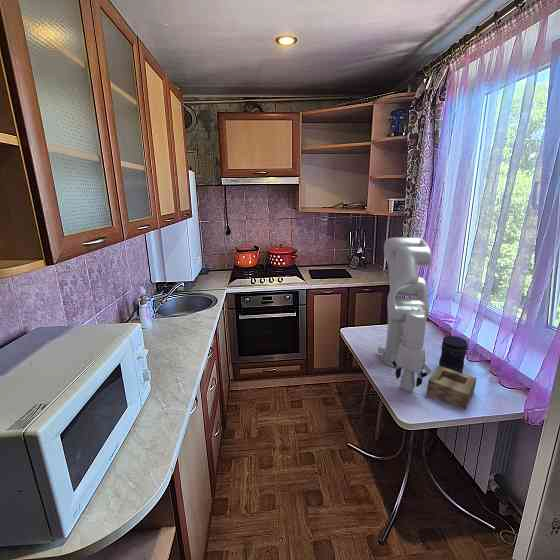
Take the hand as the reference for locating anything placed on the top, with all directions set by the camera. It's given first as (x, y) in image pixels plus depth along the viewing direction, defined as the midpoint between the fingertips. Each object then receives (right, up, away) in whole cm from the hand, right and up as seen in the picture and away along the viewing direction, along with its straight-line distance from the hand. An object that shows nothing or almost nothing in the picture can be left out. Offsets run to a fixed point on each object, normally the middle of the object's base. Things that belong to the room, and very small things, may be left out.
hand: (408, 381), depth 131 cm
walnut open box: (+16, -5, -1) cm, 17 cm away
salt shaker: (0, -4, +1) cm, 4 cm away
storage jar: (+25, 0, +14) cm, 29 cm away
